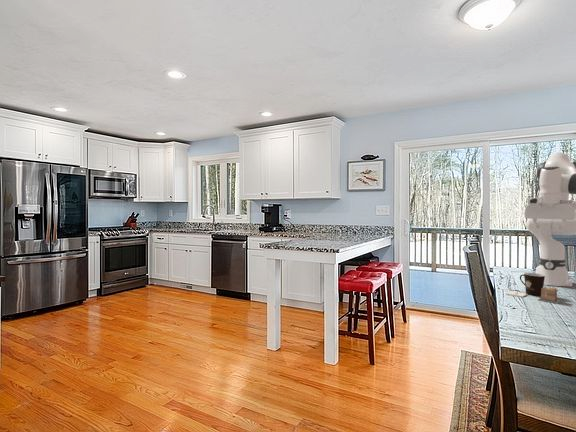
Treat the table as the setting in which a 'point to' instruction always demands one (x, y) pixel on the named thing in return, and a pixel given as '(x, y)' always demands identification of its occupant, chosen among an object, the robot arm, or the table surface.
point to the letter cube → (549, 294)
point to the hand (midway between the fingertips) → (548, 228)
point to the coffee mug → (533, 283)
